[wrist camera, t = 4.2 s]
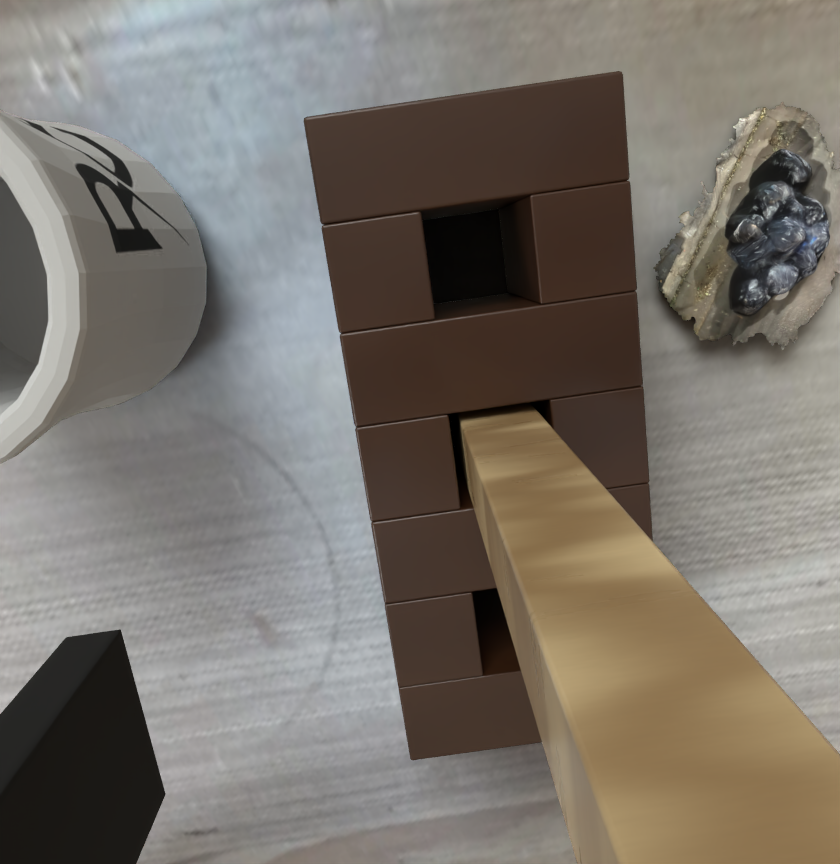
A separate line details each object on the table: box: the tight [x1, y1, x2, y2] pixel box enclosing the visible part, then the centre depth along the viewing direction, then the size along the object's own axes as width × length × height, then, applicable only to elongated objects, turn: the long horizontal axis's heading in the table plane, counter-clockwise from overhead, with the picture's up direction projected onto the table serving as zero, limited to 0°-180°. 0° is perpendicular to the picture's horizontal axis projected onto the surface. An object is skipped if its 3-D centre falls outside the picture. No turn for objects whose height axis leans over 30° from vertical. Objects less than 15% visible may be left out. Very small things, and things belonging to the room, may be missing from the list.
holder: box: [304, 71, 653, 760], centre depth 23 cm, size 19×8×6 cm, turn 8°
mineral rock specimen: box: [654, 102, 840, 350], centre depth 23 cm, size 7×8×2 cm
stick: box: [451, 402, 840, 864], centre depth 15 cm, size 2×2×22 cm
